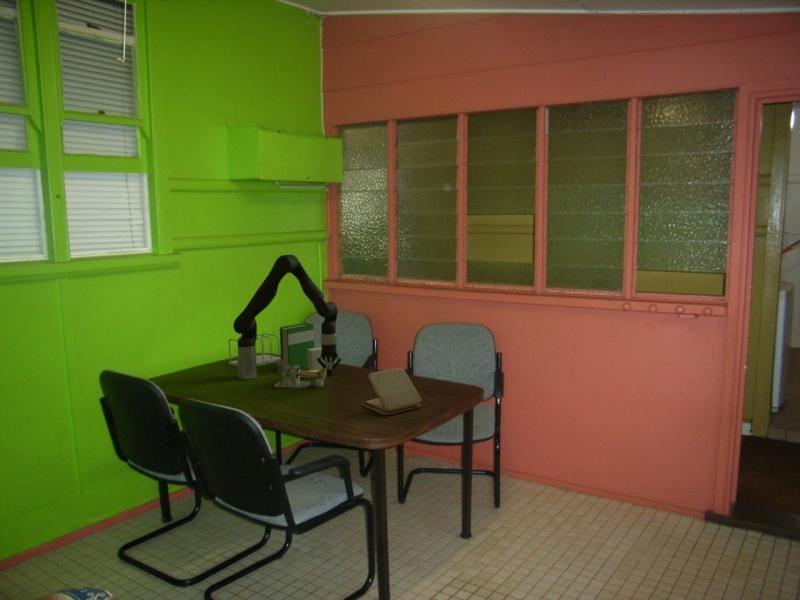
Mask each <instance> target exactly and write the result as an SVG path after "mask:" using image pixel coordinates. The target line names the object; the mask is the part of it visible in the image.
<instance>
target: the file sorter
mask: <svg viewBox="0 0 800 600" xmlns="http://www.w3.org/2000/svg"><path fill="white" fill-rule="evenodd" d="M267 335H268V336H267ZM258 336H259V337H261V338H259V337H258ZM269 336H272V337H273V336H274V337H276V339H277V351H278V353H277V354H278V356H274V355H273V354H272V353H273V349H272V347H273V345H272V338H271V337H269ZM240 338H241V336H240V337H238V338H237V339H233V338H230V339H228V350H229V351H228V352H229V353H228V356H229V361H228V365H229V366H233V367H235V368H237V361H238V359H236V360H232V354H231V341H233V342H238V340H239V339H240ZM264 338H268V339H269V342H270V344H269V345H270V354H265V346H264ZM256 340H260V342H261V354H259V355H256V364H257V367H261V366H263V365H269V364H272V363H275V362H276V360H277V361H278V360H279V359H281V350H280V338H279V336H278V335H276V334H272V333H266V332H264V333H262V334H258V333H257V339H256ZM267 362H268V363H267ZM231 363H232V364H231ZM234 364H236V365H234ZM258 364H259V365H258Z"/></svg>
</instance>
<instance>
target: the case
mask: <svg viewBox="0 0 800 600" xmlns="http://www.w3.org/2000/svg"><path fill="white" fill-rule="evenodd" d="M367 378H368V380H369V382H370V385H371V386H372V389H373V390H374V392H375V394H376V396H377V398H374V399H370V400H366V401H364V402H362V406H363V407H364V408H367V409H369V410H371V411H374V412H376V413H378V414H380V415H384V416H391V415H395V414H399V413H402V412H408V411H411V410H415V409H419V408H421V403H422V398H421V396H420V395H419V393H418V391H417V389H416V387H415V386H414V384H413V382H412V380H411V379H410V377H409V375H408V373H407V372H406V371H405V369H404V368H402V367H395V368H389V369H383V370H379V371H375V372H373V371H372V372H371V373H369V374H367Z"/></svg>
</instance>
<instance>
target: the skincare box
mask: <svg viewBox="0 0 800 600" xmlns="http://www.w3.org/2000/svg"><path fill="white" fill-rule="evenodd" d="M321 353H322V350H321V346H317V347H314V348H311V349H307V355H308V368H307V370H321V369H322V368H323V367H322V366H321V365H320V364H319V362H318V361H317V358H319V357H320V356H321ZM322 361H323V362H324V360H323V359H322ZM324 364H325V362H324ZM325 365H326V364H325ZM325 371H326V372H327V370H326V369H325ZM311 378H313V377H311Z"/></svg>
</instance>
